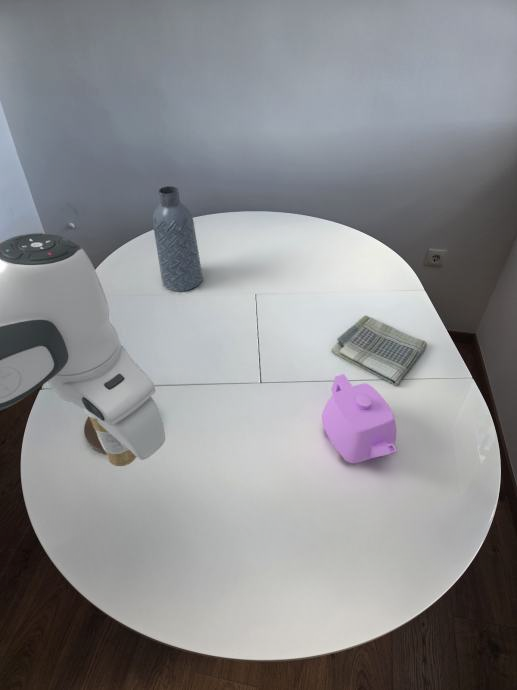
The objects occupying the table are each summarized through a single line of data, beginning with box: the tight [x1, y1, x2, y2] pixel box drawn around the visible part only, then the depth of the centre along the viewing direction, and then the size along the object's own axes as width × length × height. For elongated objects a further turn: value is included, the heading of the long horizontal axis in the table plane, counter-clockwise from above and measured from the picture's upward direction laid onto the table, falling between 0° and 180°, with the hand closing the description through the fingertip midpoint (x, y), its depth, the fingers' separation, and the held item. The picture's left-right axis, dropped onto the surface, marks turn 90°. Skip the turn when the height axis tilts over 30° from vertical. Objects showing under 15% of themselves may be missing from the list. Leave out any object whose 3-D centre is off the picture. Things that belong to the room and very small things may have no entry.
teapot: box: [321, 373, 398, 464], centre depth 84 cm, size 20×12×13 cm, turn 22°
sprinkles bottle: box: [83, 409, 138, 467], centre depth 59 cm, size 5×5×13 cm
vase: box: [152, 185, 203, 292], centre depth 121 cm, size 12×12×28 cm
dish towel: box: [330, 315, 428, 386], centre depth 107 cm, size 19×18×3 cm
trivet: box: [83, 415, 107, 455], centre depth 91 cm, size 14×14×2 cm
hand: (115, 434), depth 60 cm, fingers closed on sprinkles bottle, 4 cm apart
